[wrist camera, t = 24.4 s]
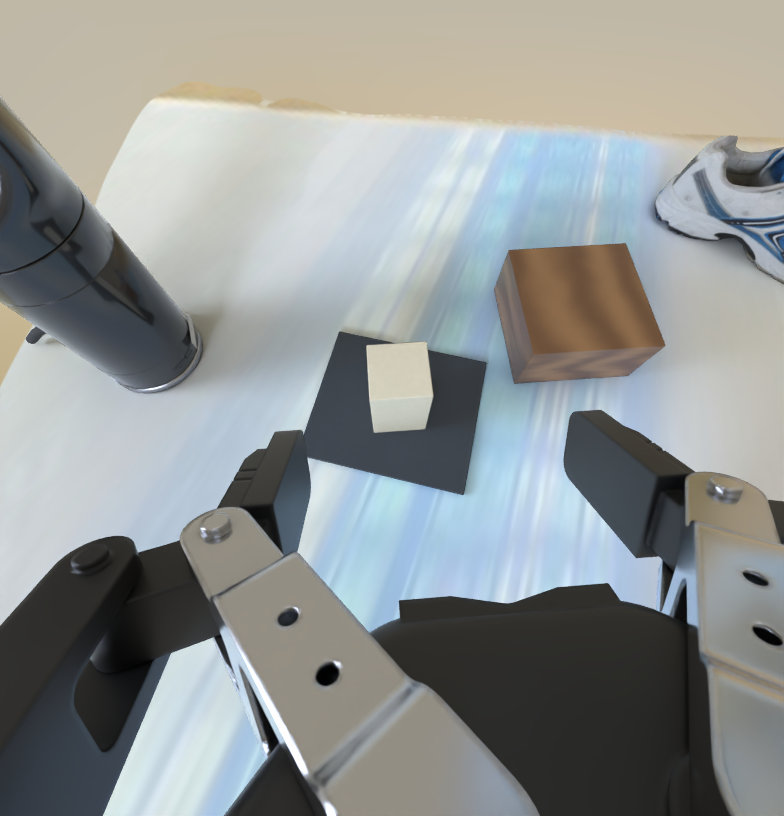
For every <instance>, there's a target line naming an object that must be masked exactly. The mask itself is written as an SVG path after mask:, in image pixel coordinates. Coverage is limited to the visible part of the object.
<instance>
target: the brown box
mask: <svg viewBox="0 0 784 816" xmlns="http://www.w3.org/2000/svg"><path fill="white" fill-rule="evenodd" d="M494 291H495V296H496V300H497V305H498V310H499V314H500V319H501V324H502V328H503V333H504V338H505V342H506V347H507V352H508V357H509V361H510V366H511V371H512V375H513V380H514V383H528V382H542V381H557V380H572V379H586V378H601V377H616V376H628V375H630V374H631V373H632V372H633V371H635V370H636V369H637V368H638V367H640V366H641V365H642V364H643V363H645V362H646V361H647V360H648V359H650V358H651V357H652V356H653V355H655V354H656V353H657V352H658V351H660V350H661V349H662V348H663V347H665V343H664V340H663V338H662V335H661V333H660V330H659V327H658V325H657V322H656V320H655V317H654V315H653V312H652V309H651V307H650V304H649V302H648V299H647V297H646V294H645V292H644V289H643V286H642V284H641V281H640V279H639V276H638V274H637V271H636V269H635V266H634V263H633V261H632V258H631V256H630V253H629V251H628V248H627V245H626V243H622V244H605V245H588V246H571V247H554V248H537V249H519V250H509V251H508V253H507V256H506V259H505V261H504V264H503V267H502V269H501V272H500V275H499V278H498V280H497V283H496V286H495V288H494Z"/></svg>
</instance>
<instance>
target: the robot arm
mask: <svg viewBox="0 0 784 816" xmlns="http://www.w3.org/2000/svg"><path fill="white" fill-rule="evenodd" d="M0 302H1V303H2V304H4V305H5V306H7V307H8V308H10V309H11V310H13V311H14V312H16V313H17V314H19V315H20V316H22V317H23V318H25V319H26V320H28V321H30V322H31V323H32V324H34V325H35V326H36V327H35V328H34V329H32V330H31V331H30V333H29V334H28V336H27V337H26V341H27V342H28V343H31V344H35V343H36V342H38V340H39V339H40V338H41V337H42V335H44V334H48V335H50V336H51V337H53V338H54V339H56V340H57V341H59V342H60V343H62V344H63V345H65V346H66V347H68V348H69V349H71V350H72V351H74V352H75V353H77V354H78V355H79V356H81V357H82V358H84V359H85V360H87V361H88V362H90V363H91V364H93V365H94V366H96V367H97V368H98V369H100V370H101V371H103V372H104V373H106V374H107V375H109V376H110V377H112V378H113V379H114V380H115V381H116V382H118V383H119V384H120V385H122V386H123V387H125V388H127V389H129V390H131V391H134V392H139V393H154V392H160V391H163V390H166V389H169V388H171V387H173V386H175V385H177V384H178V383H180V382H181V381H183V380H184V379H185V378H186V377H187V376H188V375H189V374H190V373H191V372H192V371H193V370H194V368H195V367H196V365H197V363H198V361H199V359H200V356H201V353H202V339H201V335H200V333H199V331H198V330H197V328H196V327H195V326H194V324H193V321H192V318H191V317H190V316H189V314H188V313H187V317H188V319H187V318H186V316H185V315H184V314H183V313H182V312H181V310H180V309H179V308H178V306H177V305H176V304H175V303H174V302H173V300H172V299H171V298H170V297H169V296H168V294H167V293H166V292H165V291H164V290H163V288H162V287H161V286H160V285H159V284H158V282H157V281H156V280H155V279H154V278H153V276H152V275H151V274H150V273H149V271H148V270H147V269H146V268H145V267H144V265H143V264H142V263H141V262H140V261H139V259H138V258H137V257H136V256H135V255H134V253H133V252H132V251H131V250H130V249H129V247H128V246H127V245H126V244H125V243H124V241H123V240H122V239H121V238H120V236H119V235H118V234H117V233H116V232H115V230H114V229H113V228H112V227H111V226H110V224H109V223H108V222H107V221H106V220H105V219H104V217H103V216H102V215H101V214H100V213H99V211H98V210H97V209H96V208H95V207H94V206H93V204H92V203H91V202H90V201H89V199H88V198H87V197H86V196H85V195H84V194H83V192H82V191H81V190H80V189H79V187H78V186H77V185H76V184H75V183H74V181H73V180H72V179H71V178H70V177H69V176H68V174H67V173H66V172H65V171H64V170H63V169H62V167H61V166H60V165H59V164H58V163H57V162H56V161H55V159H54V158H53V157H52V156H51V155H50V154H49V153H48V151H47V150H46V149H45V148H44V147H43V146H42V144H41V143H40V142H39V141H38V140H37V139H36V138H35V137H34V135H33V134H32V133H31V132H30V130H29V129H28V128H27V127H26V126H25V124H24V123H23V122H22V121H21V120H20V118H19V117H18V116H17V115H16V114H15V112H14V111H13V110H12V109H11V108H10V107H9V105H8V104H7V103H6V102H5V100H4V99H3V98H2V96H1V95H0ZM564 468H565V472H566V474H567V476H568V478H569V479H570V480H571V482H572V483H573V484H574V485H575V486H576V488H577V489H578V490H579V491H580V492H581V493H582V495H583V496H584V497H585V498H586V499H587V501H588V502H589V503H590V504H591V505H592V506H593V508H594V509H595V510H596V511H597V512H598V514H599V515H600V516H601V517H602V518H603V519H604V521H605V522H606V523H607V524H608V525H609V527H610V528H611V529H612V530H613V531H614V532H615V534H616V535H617V536H618V537H619V538H620V540H621V541H622V542H623V543H624V544H625V545H626V547H627V548H628V549H629V550H630V551H631V553H632V554H633V555H634V556H635V557H636V558H644V557H656V556H659V557H660V558H661V559H662V561H661V564H660V567H659V571H658V584H657V599H656V610H654V609H651V608H648V607H645V606H642V605H638V604H634V603H629V602H624V601H620V599H619V598H618V597H617V595H616V594H615V592H614V591H613V589H612V588H611V587H610V585H609V584H608V583H605V584H593V585H580V586H568V587H557V588H554V589H551V590H549V591H546V592H543V593H540V594H537V595H534V596H531V597H528V598H525V599H523V600H520V601H517V602H514V603H508V604H506V603H497V602H490V601H482V600H475V599H468V598H460V597H453V596H448V597H436V598H424V599H412V600H400V601H399V610H400V618H399V619H396V620H393V621H391V622H388V623H386V624H384V625H382V626H380V627H378V628H377V629H375V630H373V631H372V632H370V633H369V632H368V631H367V630H366V629H365V628H364V626H363V625H362V624H361V623H360V622H359V621H358V620H357V618H356V617H355V616H354V615H353V614H352V613H351V612H350V611H349V609H348V608H347V607H346V606H345V605H344V604H343V603H342V602H341V600H340V599H339V598H338V597H337V596H336V595H335V594H334V593H333V591H332V590H331V589H330V588H329V587H328V586H327V585H326V583H325V582H324V581H323V580H322V579H321V578H320V577H319V576H318V574H317V573H316V572H315V571H314V570H313V569H312V568H311V567H310V565H309V564H308V563H307V562H306V561H305V560H304V559H303V558H302V556H301V555H300V554H298V553H297V551H298V546H299V542H300V538H301V533H302V529H303V525H304V520H305V516H306V512H307V507H308V503H309V499H310V492H311V481H310V472H309V466H308V460H307V453H306V447H305V440H304V435H303V432H302V430H292V431H278V432H275V433H274V435H273V437H272V439H271V441H270V443H269V445H268V447H267V449H257V450H256V451H255V452H253V453H252V454H251V455H250V456H248V457H247V458H246V459H245V460H244V462H243V463H242V465H241V467H240V469H239V472H237V474H236V476H235V478H234V481H232V483H231V485H230V486H229V488H228V490H227V492H226V493H225V495H224V497H223V499H222V500H221V502H220V504H219V506H218V507H217V509H214V510H211V511H208V512H206V513H204V514H202V515H200V516H198V517H197V518H195V519H194V520H192V521H191V522H190V523H189V524H188V525H187V526H186V527H185V528H184V529H183V531H182V532H181V535H180V540H179V541H177V542H173V543H170V544H167V545H163V546H160V547H156V548H153V549H149V550H146V551H142V552H139V553H138V551H137V549H136V546H135V544H134V542H133V541H132V539H130V538H128V537H124V536H111V537H106V538H102V539H98V540H95V541H92V542H90V543H87V544H85V545H83V546H81V547H79V548H77V549H75V550H74V551H72V552H70V553H69V554H67V555H66V556H64V557H63V558H62V559H61V560H60V561H58V562H57V563H56V564H55V565H54V566H53V568H52V569H51V570H50V571H49V572H48V573H47V574H46V575H45V576H44V578H43V579H42V580H41V581H40V582H39V583H38V584H37V585H36V587H35V588H34V589H33V590H32V591H31V592H30V593H29V594H28V595H27V597H26V598H25V599H24V600H23V601H22V602H21V603H20V604H19V606H18V607H17V608H16V609H15V610H14V611H13V612H12V613H11V614H10V616H9V617H8V618H7V619H6V620H5V621H4V622H3V623H2V625H1V626H0V816H103V814H104V811H105V809H106V807H107V804H108V802H109V800H110V797H111V795H112V792H113V790H114V788H115V785H116V783H117V780H118V778H119V776H120V773H121V771H122V769H123V766H124V764H125V761H126V759H127V757H128V754H129V752H130V749H131V747H132V745H133V742H134V740H135V738H136V735H137V733H138V730H139V728H140V726H141V723H142V721H143V718H144V716H145V714H146V711H147V709H148V707H149V704H150V702H151V699H152V697H153V695H154V692H155V690H156V687H157V685H158V683H159V680H160V678H161V676H162V673H163V671H164V668H165V666H166V664H167V661H168V659H169V656H170V654H171V653H172V652H175V651H178V650H180V649H183V648H186V647H189V646H191V645H194V644H197V643H199V642H202V641H205V640H207V639H210V638H213V641H214V643H215V645H216V647H217V649H218V652H219V654H220V656H221V658H222V660H223V662H224V665H225V667H226V669H227V671H228V673H229V676H230V678H231V680H232V682H233V684H234V686H235V689H236V691H237V693H238V695H239V697H240V699H241V702H242V704H243V706H244V709H245V711H246V713H247V716H248V718H249V721H250V724H251V726H252V729H253V731H254V734H255V736H256V739H257V741H258V744H259V746H260V748H261V751H262V753H263V755H264V757H265V760H266V761H265V762H264V763H263V765H262V766H261V767H260V769H259V770H258V771H257V773H256V774H255V775H254V777H253V778H252V779H251V781H250V782H249V783H248V785H247V786H246V787H245V789H244V790H243V791H242V793H241V794H240V795H239V796H238V798H237V799H236V800H235V802H234V803H233V804H232V806H231V807H230V808H229V810H228V811H227V812H226V814H225V815H224V816H784V502H783V501H774V500H767V498H766V496H765V495H764V493H763V492H762V491H760V490H759V489H758V488H756V487H755V486H753V485H751V484H749V483H747V482H745V481H743V480H741V479H738V478H735V477H732V476H729V475H725V474H720V473H714V472H695V471H693V470H692V469H690V468H689V467H688V466H686V465H685V464H683V463H682V462H680V461H679V460H678V459H676V458H675V457H673V456H672V455H671V454H669V453H668V452H666V451H663V450H662V448H661V447H659V446H658V445H656V444H655V443H652V441H651V440H649V439H648V438H646V437H645V436H644V435H642V434H641V433H639V432H637V431H635V430H633V429H630V428H628V427H625V426H623V425H622V424H620V423H619V422H617V421H616V420H615V419H613V418H612V417H611V416H609V415H608V414H606V413H605V412H604V411H602V410H592V411H577V412H573V413H572V414H571V416H570V419H569V425H568V432H567V439H566V446H565V452H564Z"/></svg>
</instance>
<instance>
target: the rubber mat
mask: <svg viewBox="0 0 784 816" xmlns="http://www.w3.org/2000/svg"><path fill="white" fill-rule="evenodd" d="M380 344H395V343H391V342H387V341H382V340H377V339H372V338H368V337H363V336H358V335H354V334H349V333H344V332H339V334H338V337H337V340H336V343H335V346H334V349H333V352H332V354H331V357H330V360H329V363H328V366H327V369H326V372H325V375H324V378H323V380H322V383H321V386H320V389H319V392H318V395H317V398H316V401H315V404H314V407H313V409H312V412H311V415H310V418H309V421H308V424H307V427H306V430H305V433H304V440H305V447H306V453H307V457H309V458H313V459H317V460H321V461H325V462H329V463H333V464H337V465H342V466H346V467H350V468H354V469H358V470H362V471H366V472H370V473H375V474H379V475H383V476H387V477H391V478H395V479H399V480H403V481H407V482H412V483H416V484H420V485H424V486H428V487H432V488H436V489H440V490H445V491H449V492H453V493H457V494H461V495H464V491H465V485H466V479H467V473H468V468H469V462H470V456H471V450H472V445H473V439H474V433H475V427H476V421H477V416H478V410H479V404H480V398H481V392H482V387H483V381H484V375H485V369H486V364H487V363H486V362H481V361H477V360H472V359H467V358H462V357H458V356H453V355H448V354H444V353H439V352H434V351H429V350H428V357H429V365H430V373H431V381H432V389H433V399H432V403H431V407H430V412H429V416H428V420H427V424H426V428H425V429H421V430H407V431H392V432H378V433H374V429H373V422H372V415H371V407H370V400H369V382H368V365H367V348H366V346H367V345H380Z"/></svg>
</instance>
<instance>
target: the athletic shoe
mask: <svg viewBox="0 0 784 816" xmlns="http://www.w3.org/2000/svg"><path fill="white" fill-rule="evenodd" d="M737 139H738V137H737V136H721V137H719V138H717V139H715V140H713V141H712V142H711V143H709V144H708V145H707V146H706V147H705V148H704V149H703V150H702V151H701V152H700V153H699V154H698V155H697V156H696V157H695V158H694V159H693V160H692V161H691V162H690V163H689V164H688V165H687V166H686V168H685V169H684V170H683V171H682V172H681V173H680V174H678V175H676V176H675V177H674V178H673V179H671V180H670V181H669V182H668V183H667V185H666V186H665V188H664V189H663V190H662V191H661V192H660V193H659V195H658V197H657V199H656V203H655V209H656V218H657V219H658V220H659V221H665V220H667V221H668V222H669V229H670V230H672V231H675V232H676V233H677V234H683V235H684V236H687V237H689V238H694V239H703V240H719V239H722V238H736V239H738V240H739V241H740V242H741V243H742V244H743V246H744V250H745V253H746V255H747V257H748V259H750V260H751V261H752V262H755V263H756V264H757V268H758V269H760V270H762V271H764V272H765V273H767V274H771V275H772V277H773V278H774V279H776V280H778V281H780V282H782V283H784V147H782V148H777V149H773V150H769V151H765V152H757V153H751V152H745V151H741V150H739V149H738V148H737V147H736V142H737Z"/></svg>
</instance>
